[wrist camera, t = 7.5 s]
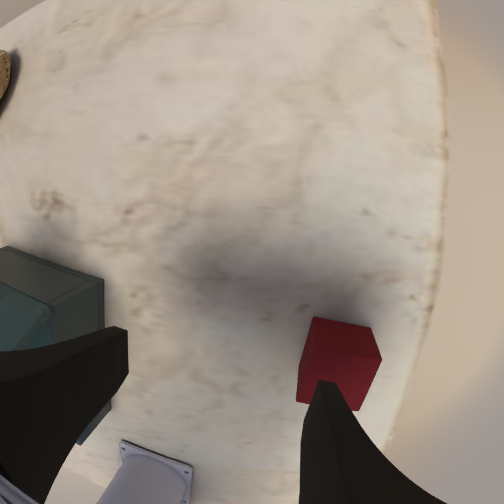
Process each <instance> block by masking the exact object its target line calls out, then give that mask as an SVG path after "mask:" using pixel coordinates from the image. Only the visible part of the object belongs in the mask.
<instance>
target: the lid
mask: <svg viewBox="0 0 504 504" xmlns="http://www.w3.org/2000/svg"><path fill="white" fill-rule="evenodd" d="M51 314H52V313H51V310H50V308H49V306H48V305H45V304H43V303H41V302H39V301H37V300H34V299H32V298H30V297H28V296H26V295H24V294H22V293H20V292H18V291H16V290H14V289H12V288H10V287H8V286H6V285H4V284H2V283H0V351H16V350H23V349H24V348H25V347H26V346H27V344H28V343H29V342H30V340H31V339H32V338H33V337H34V335H35V334H36V333H37V331H38V330H39V329H40V328H41V326H42V325H43V324H44V323H45V322H46V320H47V319H48V318H49V317H50V315H51Z"/></svg>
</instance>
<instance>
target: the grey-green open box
mask: <svg viewBox="0 0 504 504" xmlns="http://www.w3.org/2000/svg"><path fill="white" fill-rule="evenodd" d="M0 283H2V284H4V285H6V286H8V287H10V288H12V289H14V290H16V291H18V292H20V293H22V294H24V295H26V296H28V297H30V298H32V299H34V300H37V301H39V302H41V303H43V304H45V305H48V306H49V308H50V310H51V313H52V314H51V315H50V317H49V318H48V319H47V320H46V322H45V323H44V324H43V325H42V326H41V328H40V329H39V330H38V331H37V333H36V334H35V335H34V337H33V338H32V339H31V340H30V342H29V343H28V344H27V346H26V347H25V348H24V349H23V350H25V349H32V348H38V347H43V346H47V345H51V344H55V343H59V342H62V341H66V340H70V339H73V338H76V337H79V336H82V335H86V334H89V333H92V332H95V331H98V330H101V329H105V328H104V280H103V279H100V278H97V277H94V276H91V275H88V274H85V273H82V272H79V271H76V270H73V269H70V268H67V267H64V266H61V265H58V264H55V263H52V262H49V261H46V260H44V259H41V258H38V257H35V256H32V255H30V254H27V253H24V252H21V251H19V250H16V249H13V248H11V247H8V246H6V247H3V248H0ZM110 410H111V403H110V400H109V402H108V403H107V404H106V405H105V406H104V407H103V409H102V410H101V411H100V412H99V413H98V414H97V416H96V417H95V418H94V419H93V420H92V421H91V423H90V424H89V425H88V426H87V427H86V429H85V430H84V431H83V432H82V434H81V435H80V437H79V438H78V440H77V441H76V443H77V444H78V445H80V446H81V445H82V444H83V442H84V441H85V440H86V439H87V437H88V436H89V435H90V434H91V433H92V431H93V430H94V429H95V428H96V427H97V425H98V424H99V423H100V422H101V420H102V419H103V418H104V417H105V416H106V414H107V413H108V412H109V411H110Z"/></svg>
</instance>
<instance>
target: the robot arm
mask: <svg viewBox="0 0 504 504" xmlns="http://www.w3.org/2000/svg"><path fill="white" fill-rule="evenodd" d="M128 373H129V367H128V331H127V330H124V329H122V328H119V327H116V326H112V327H108V328H105V329H101V330H98V331H95V332H92V333H89V334H86V335H82V336H79V337H76V338H73V339H70V340H66V341H62V342H59V343H55V344H51V345H47V346H43V347H38V348H32V349H25V350H16V351H0V504H44V503H45V500H46V498H47V495H48V493H49V491H50V489H51V487H52V484H53V482H54V480H55V478H56V476H57V474H58V472H59V470H60V468H61V466H62V465H63V463H64V461H65V459H66V458H67V456H68V454H69V453H70V451H71V449H72V448H73V446H74V445H75V443H76V441H77V440H78V438H79V437H80V435H81V434H82V432H83V431H84V430H85V429H86V427H87V426H88V425H89V424H90V423H91V421H92V420H93V419H94V418H95V417H96V416H97V414H98V413H99V412H100V411H101V410H102V409H103V407H104V406H105V405H106V404H107V403H108V402H109V400H110V399H111V398H112V397H113V396H114V395H115V393H116V392H117V391H118V389H119V388H120V386H121V385H122V383H123V381H124V380H125V378H126V376H127V375H128ZM119 446H120V452H121V458H122V463H123V464H122V465H121V467H120V468H119V470H118V472H117V473H116V475H115V476H114V478H113V479H112V481H111V482H110V484H109V485H108V487H107V488H106V490H105V491H104V493H103V494H102V496H101V497H100V499H99V500H98V502H97V504H190V493H191V482H192V471H193V468H192V467H191V466H189V465H186V464H183V463H180V462H177V461H174V460H171V459H168V458H166V457H163V456H160V455H157V454H155V453H152V452H149V451H147V450H144V449H142V448H139V447H137V446H134V445H132V444H130V443H127V442H125V441H121V442H120V443H119ZM299 504H447V503H445V502H443V501H441V500H439V499H438V498H435V497H434V496H432V495H431V494H429V493H428V492H426V491H425V490H423V489H422V488H420V487H419V486H418V485H416V484H415V483H413V482H412V481H411V480H409V479H408V478H407V477H406V476H405V475H404V474H403V473H401V472H400V471H399V470H398V469H397V468H396V467H395V466H394V465H393V464H392V463H391V462H390V461H389V460H388V459H387V458H386V457H385V456H384V455H383V454H382V453H381V451H380V450H379V449H378V448H377V447H376V446H375V444H374V443H373V442H372V441H371V439H370V438H369V437H368V435H367V434H366V433H365V431H364V430H363V428H362V427H361V425H360V424H359V422H358V421H357V419H356V417H355V416H354V414H353V413H352V411H351V409H350V407H349V406H348V404H347V402H346V400H345V399H344V397H343V395H342V393H341V391H340V389H339V387H338V386H337V384H336V382H330V381H324V380H319V381H318V383H317V386H316V389H315V392H314V395H313V397H312V400H311V403H310V405H309V408H308V411H307V413H306V416H305V418H304V423H303V430H302V437H301V452H300V494H299Z"/></svg>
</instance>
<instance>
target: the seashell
mask: <svg viewBox="0 0 504 504" xmlns="http://www.w3.org/2000/svg"><path fill="white" fill-rule="evenodd" d="M10 70H11V58H10V55H9V54H8V53H7V51H4V50H2V51H1V50H0V100H1V98H2V96H3V95H4V93H5V91H6V89H7V87H8V84H9V78H10Z"/></svg>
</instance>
